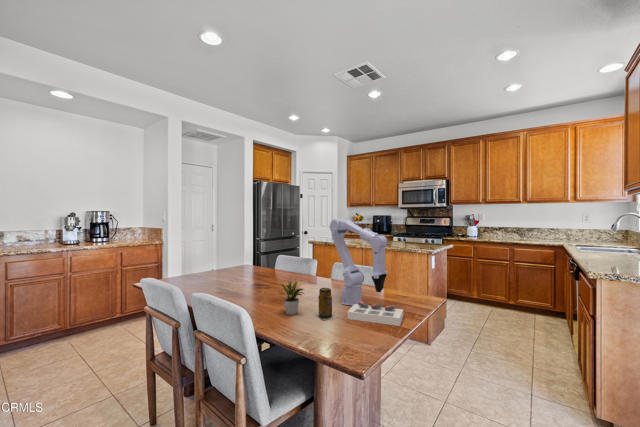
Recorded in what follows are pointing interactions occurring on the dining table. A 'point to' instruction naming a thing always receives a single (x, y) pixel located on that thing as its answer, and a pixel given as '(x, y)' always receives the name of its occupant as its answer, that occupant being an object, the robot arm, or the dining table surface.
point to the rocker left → (363, 304)
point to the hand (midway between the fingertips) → (379, 290)
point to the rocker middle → (376, 306)
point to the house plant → (291, 297)
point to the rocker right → (390, 307)
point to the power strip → (376, 315)
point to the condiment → (325, 304)
